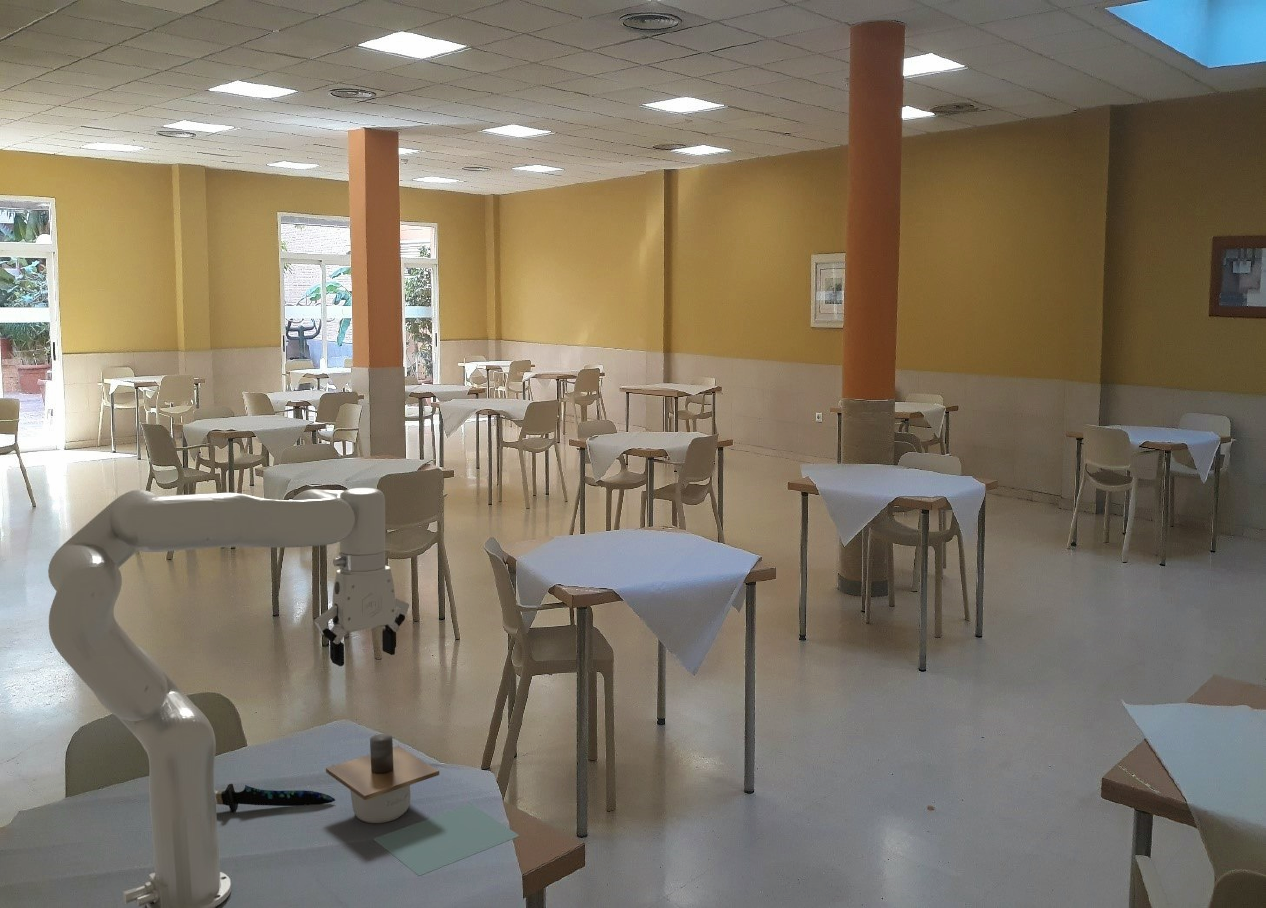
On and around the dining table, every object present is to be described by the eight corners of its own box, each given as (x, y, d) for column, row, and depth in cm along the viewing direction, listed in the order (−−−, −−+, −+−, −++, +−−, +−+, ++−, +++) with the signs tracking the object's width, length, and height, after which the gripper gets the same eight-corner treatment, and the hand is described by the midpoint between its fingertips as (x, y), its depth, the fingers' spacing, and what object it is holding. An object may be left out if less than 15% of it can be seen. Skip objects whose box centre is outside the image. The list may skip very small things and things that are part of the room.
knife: (163, 809, 198) (164, 786, 197) (169, 801, 201) (170, 778, 200) (331, 820, 200) (332, 797, 200) (334, 812, 203) (336, 790, 203)
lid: (364, 800, 187) (363, 763, 186) (326, 772, 198) (324, 737, 197) (439, 774, 197) (438, 739, 196) (398, 749, 208) (397, 716, 207)
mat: (419, 881, 175) (419, 875, 175) (373, 844, 187) (373, 838, 187) (520, 841, 188) (519, 835, 188) (470, 808, 200) (470, 803, 200)
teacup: (396, 834, 191) (395, 792, 190) (340, 829, 193) (338, 787, 192) (426, 799, 204) (425, 759, 203) (373, 794, 206) (372, 754, 205)
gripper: (326, 572, 174) (327, 674, 176) (418, 558, 185) (419, 654, 187) (304, 564, 179) (306, 663, 181) (396, 550, 191) (396, 643, 193)
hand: (363, 658), depth 184 cm, fingers open, 9 cm apart
